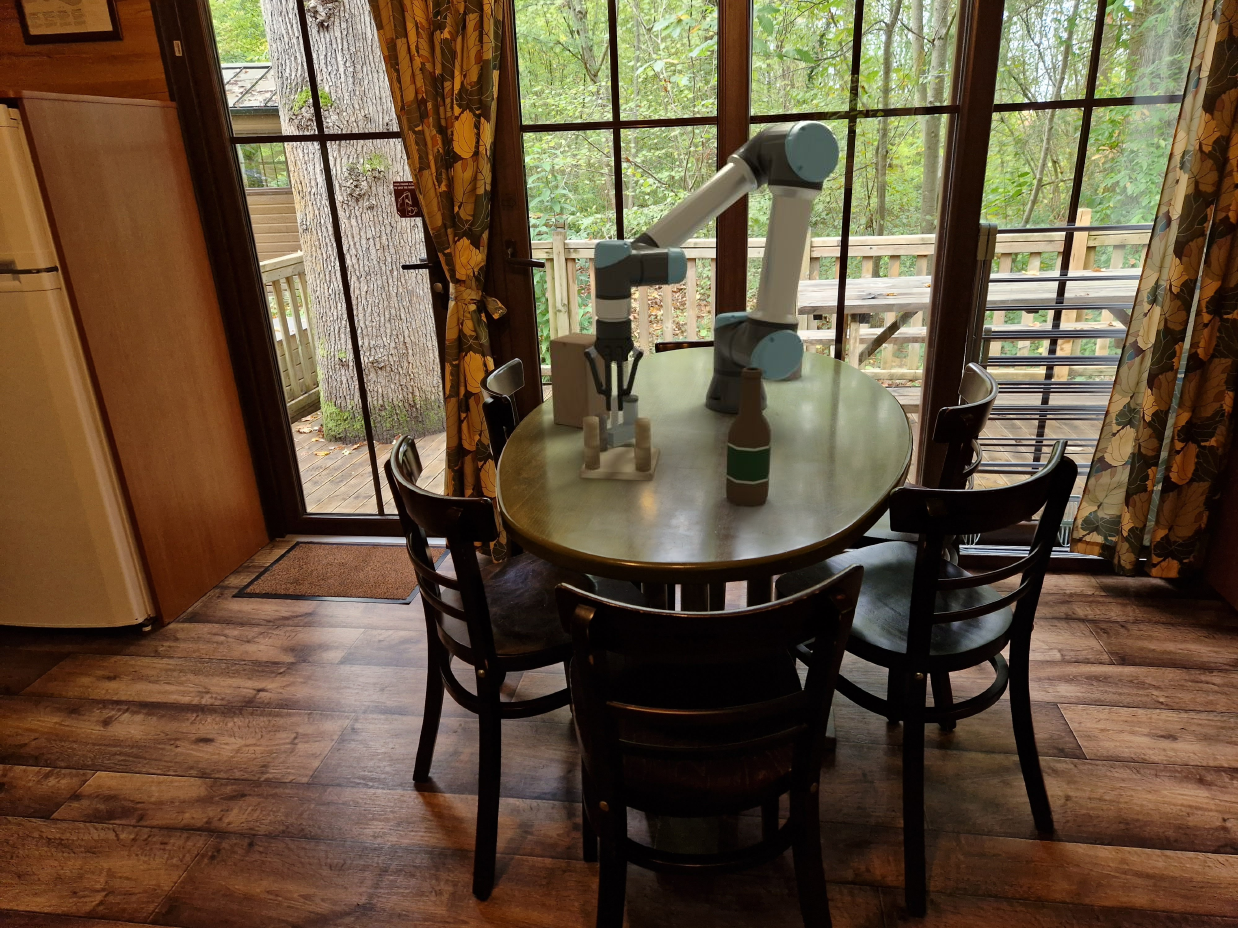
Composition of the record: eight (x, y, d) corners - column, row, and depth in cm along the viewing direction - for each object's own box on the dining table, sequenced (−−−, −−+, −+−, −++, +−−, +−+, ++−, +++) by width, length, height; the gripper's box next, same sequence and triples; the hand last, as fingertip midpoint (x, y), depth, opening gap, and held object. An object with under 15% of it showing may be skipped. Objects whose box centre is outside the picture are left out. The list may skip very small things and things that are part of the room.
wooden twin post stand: (660, 455, 164) (659, 402, 160) (652, 480, 151) (651, 423, 147) (594, 453, 166) (592, 400, 162) (580, 477, 153) (578, 421, 149)
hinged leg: (642, 434, 171) (642, 395, 168) (614, 447, 164) (613, 406, 160) (630, 432, 173) (629, 393, 170) (602, 444, 166) (600, 404, 162)
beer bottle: (721, 491, 145) (724, 364, 136) (762, 489, 145) (768, 362, 137) (730, 508, 138) (734, 375, 129) (774, 506, 138) (781, 373, 130)
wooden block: (587, 429, 181) (584, 343, 174) (552, 423, 186) (548, 339, 179) (611, 418, 189) (609, 335, 181) (577, 412, 194) (573, 331, 186)
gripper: (645, 314, 166) (645, 419, 175) (585, 313, 167) (588, 418, 176) (643, 321, 159) (643, 431, 168) (580, 321, 161) (583, 429, 169)
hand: (615, 424), depth 172 cm, fingers closed
